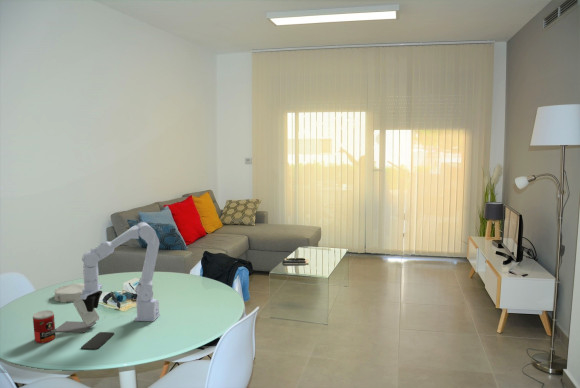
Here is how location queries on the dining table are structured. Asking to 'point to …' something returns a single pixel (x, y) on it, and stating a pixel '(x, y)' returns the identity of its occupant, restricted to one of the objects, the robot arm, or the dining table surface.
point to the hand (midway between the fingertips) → (92, 309)
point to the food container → (69, 293)
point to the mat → (74, 327)
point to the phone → (97, 341)
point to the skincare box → (86, 313)
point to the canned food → (44, 326)
